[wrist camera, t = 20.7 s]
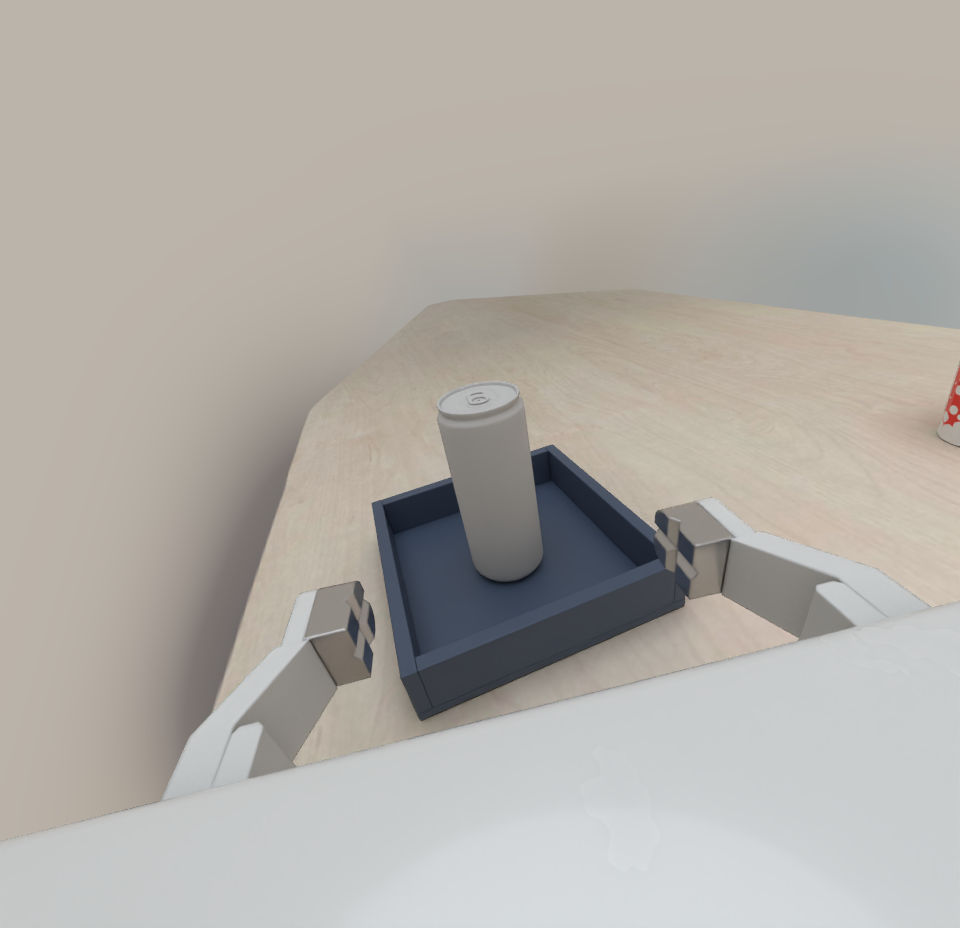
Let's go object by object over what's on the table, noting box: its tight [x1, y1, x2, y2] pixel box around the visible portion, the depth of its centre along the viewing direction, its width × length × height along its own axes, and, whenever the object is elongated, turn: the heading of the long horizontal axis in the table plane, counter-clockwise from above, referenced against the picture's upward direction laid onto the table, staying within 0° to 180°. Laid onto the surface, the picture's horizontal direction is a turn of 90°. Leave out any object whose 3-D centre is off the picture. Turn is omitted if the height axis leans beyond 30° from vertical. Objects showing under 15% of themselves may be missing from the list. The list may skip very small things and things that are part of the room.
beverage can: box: [436, 381, 543, 582], centre depth 25 cm, size 5×5×12 cm
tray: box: [372, 445, 685, 720], centre depth 27 cm, size 16×16×4 cm
